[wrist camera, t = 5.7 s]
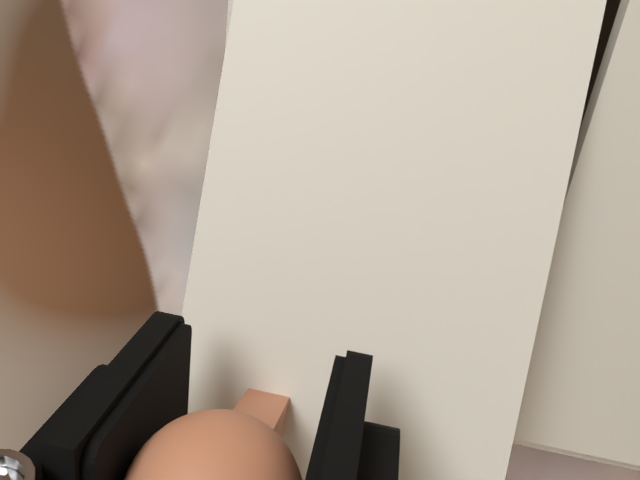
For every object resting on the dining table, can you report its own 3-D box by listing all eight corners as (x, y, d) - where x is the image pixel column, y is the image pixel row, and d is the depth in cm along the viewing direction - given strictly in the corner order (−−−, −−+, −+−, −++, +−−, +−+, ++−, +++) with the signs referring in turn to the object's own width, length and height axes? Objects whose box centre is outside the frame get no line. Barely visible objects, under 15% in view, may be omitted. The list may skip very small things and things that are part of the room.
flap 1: (607, -45, 13) (829, -293, 6) (489, 514, 14) (581, 773, 7) (257, -92, 13) (148, -352, 7) (168, 440, 14) (4, 618, 8)
